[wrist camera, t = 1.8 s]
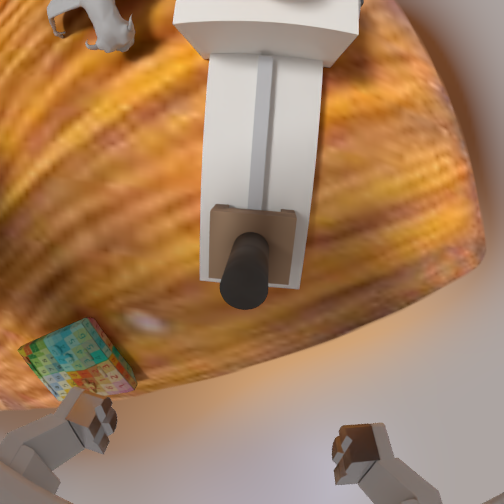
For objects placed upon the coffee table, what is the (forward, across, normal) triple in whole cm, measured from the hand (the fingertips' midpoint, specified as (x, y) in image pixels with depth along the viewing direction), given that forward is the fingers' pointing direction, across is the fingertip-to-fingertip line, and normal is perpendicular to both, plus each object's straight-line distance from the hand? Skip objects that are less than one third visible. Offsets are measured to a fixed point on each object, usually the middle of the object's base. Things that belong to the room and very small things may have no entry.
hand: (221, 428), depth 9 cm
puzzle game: (+23, +26, +22) cm, 41 cm away
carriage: (+20, 0, 0) cm, 20 cm away
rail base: (+23, 0, -10) cm, 25 cm away
